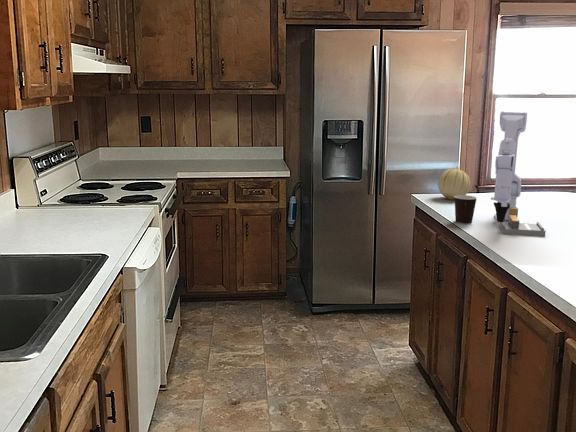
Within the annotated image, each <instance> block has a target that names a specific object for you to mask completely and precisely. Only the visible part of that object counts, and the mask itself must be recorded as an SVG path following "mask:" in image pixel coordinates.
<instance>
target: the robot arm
mask: <svg viewBox="0 0 576 432" xmlns="http://www.w3.org/2000/svg"><path fill="white" fill-rule="evenodd" d="M499 114H500V115H499V128H500V130H501V132H504V137H503V138H504V139H502V140H501V141H500V144H499V150H498V154H497V155H496V156H495V165H494V166H495V184H494V196H491V197H490V200H492V201H496V202H493V205H494V210H495V213H494V214H493V216H494V218H495V220H496V221H497V223H499V222H505V221H508V214H509V207H517V198H520V196H521V193H522V179H521V177H520V176H519V175H518V174H517V173H516V165H517V155H518V153H517V152H518V144H519V143H518V142H519V138H520V134H521V133H524V132H525V131H526V129H527V123H528V112H527V111H526V110H523V111H522V110H520V111H519V110H501V112H500V113H499Z"/></svg>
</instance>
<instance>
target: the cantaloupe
mask: <svg viewBox="0 0 576 432" xmlns="http://www.w3.org/2000/svg"><path fill="white" fill-rule="evenodd" d="M437 182H438V183H437V188H438V191H439V193H440V194H441V195H442V196H443V198H446V199H448V200H454V196H458V195H467V194H468V193H469V191H470V189H471V179H470V176H469V175H468V173H466V172H465V171H464V170H462V169H460V168H459V167H458V166H456V168H449V169H446V170H445V171H443V172H442V173H441V175H440V176H439V178H438V180H437Z"/></svg>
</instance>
